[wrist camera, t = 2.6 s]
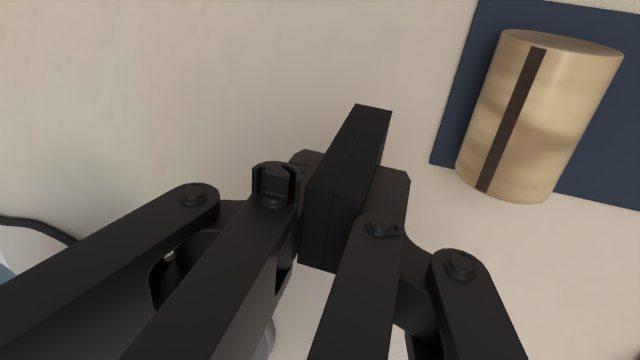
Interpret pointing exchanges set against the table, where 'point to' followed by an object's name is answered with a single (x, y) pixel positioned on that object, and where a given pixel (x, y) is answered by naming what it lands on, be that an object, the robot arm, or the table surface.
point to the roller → (533, 113)
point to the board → (609, 118)
